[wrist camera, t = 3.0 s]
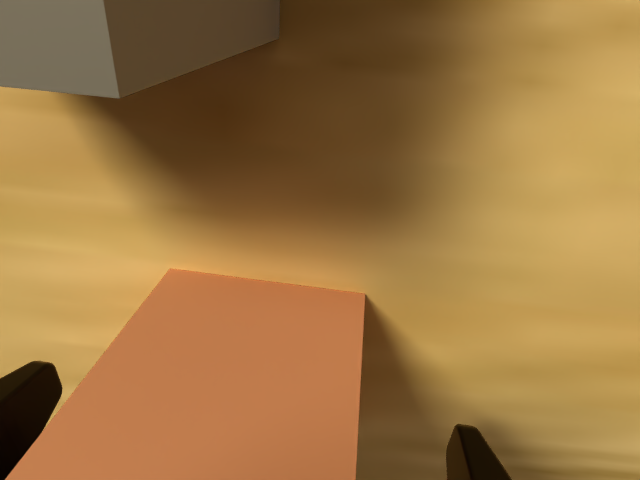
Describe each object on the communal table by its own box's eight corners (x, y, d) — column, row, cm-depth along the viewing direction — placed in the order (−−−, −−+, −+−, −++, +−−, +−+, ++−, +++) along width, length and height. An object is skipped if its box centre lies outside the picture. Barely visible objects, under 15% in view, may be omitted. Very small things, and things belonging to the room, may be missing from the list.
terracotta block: (188, 398, 12) (42, 703, 7) (170, 267, 10) (-70, 575, 5) (345, 422, 12) (318, 761, 6) (364, 293, 9) (346, 656, 4)
